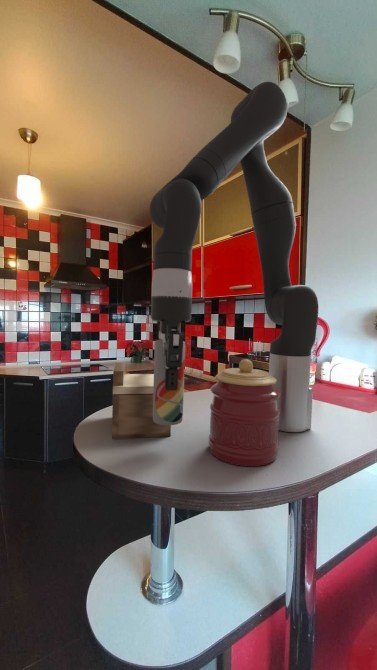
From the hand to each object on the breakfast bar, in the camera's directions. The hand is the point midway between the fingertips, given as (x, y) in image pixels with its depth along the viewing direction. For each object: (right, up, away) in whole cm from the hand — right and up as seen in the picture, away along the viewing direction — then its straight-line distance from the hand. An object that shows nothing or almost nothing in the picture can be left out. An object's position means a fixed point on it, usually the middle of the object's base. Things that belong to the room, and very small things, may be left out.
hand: (168, 386), depth 57 cm
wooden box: (-7, -11, +12) cm, 18 cm away
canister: (+14, -13, 0) cm, 19 cm away
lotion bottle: (0, -7, 0) cm, 7 cm away
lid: (-7, -2, +12) cm, 14 cm away
